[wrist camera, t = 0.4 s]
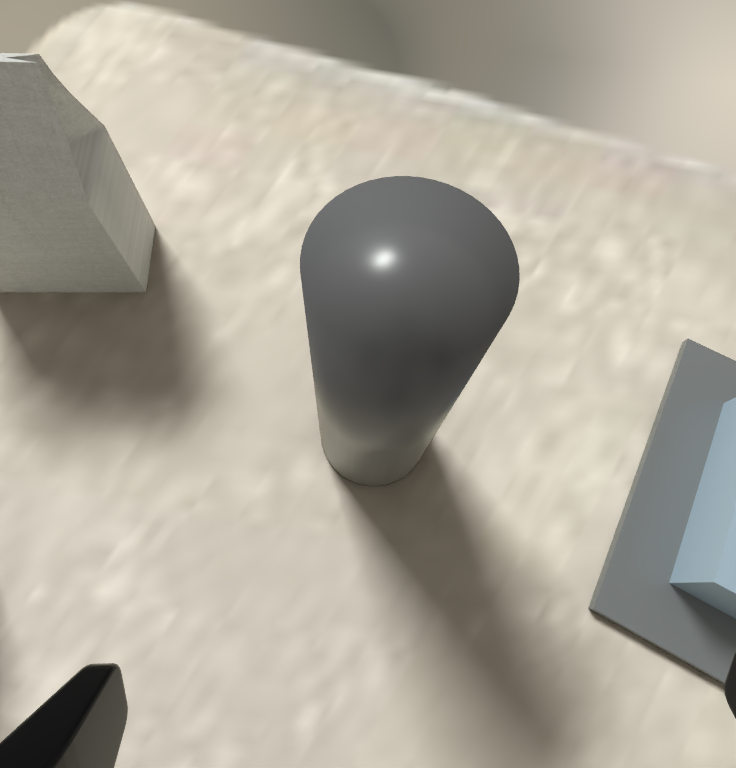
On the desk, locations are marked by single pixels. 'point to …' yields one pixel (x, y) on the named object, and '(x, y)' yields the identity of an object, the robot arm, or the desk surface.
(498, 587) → the desk surface
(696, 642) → the dock
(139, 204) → the grey chamfered block
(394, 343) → the plug
